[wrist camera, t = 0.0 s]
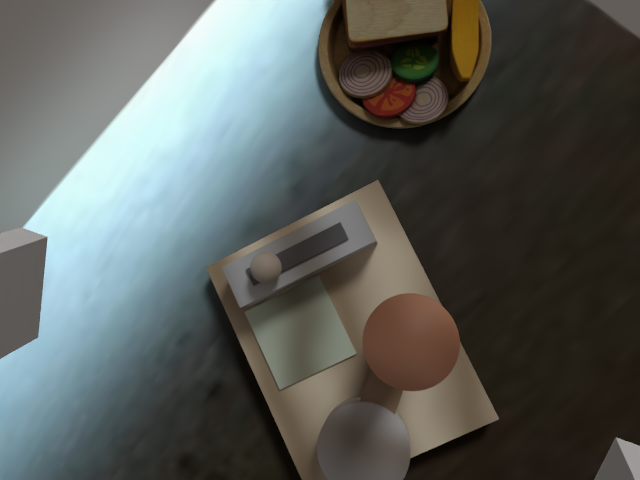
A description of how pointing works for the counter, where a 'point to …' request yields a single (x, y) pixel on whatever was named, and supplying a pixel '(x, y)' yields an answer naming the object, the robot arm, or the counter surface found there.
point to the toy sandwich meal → (404, 57)
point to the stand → (335, 323)
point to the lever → (388, 389)
